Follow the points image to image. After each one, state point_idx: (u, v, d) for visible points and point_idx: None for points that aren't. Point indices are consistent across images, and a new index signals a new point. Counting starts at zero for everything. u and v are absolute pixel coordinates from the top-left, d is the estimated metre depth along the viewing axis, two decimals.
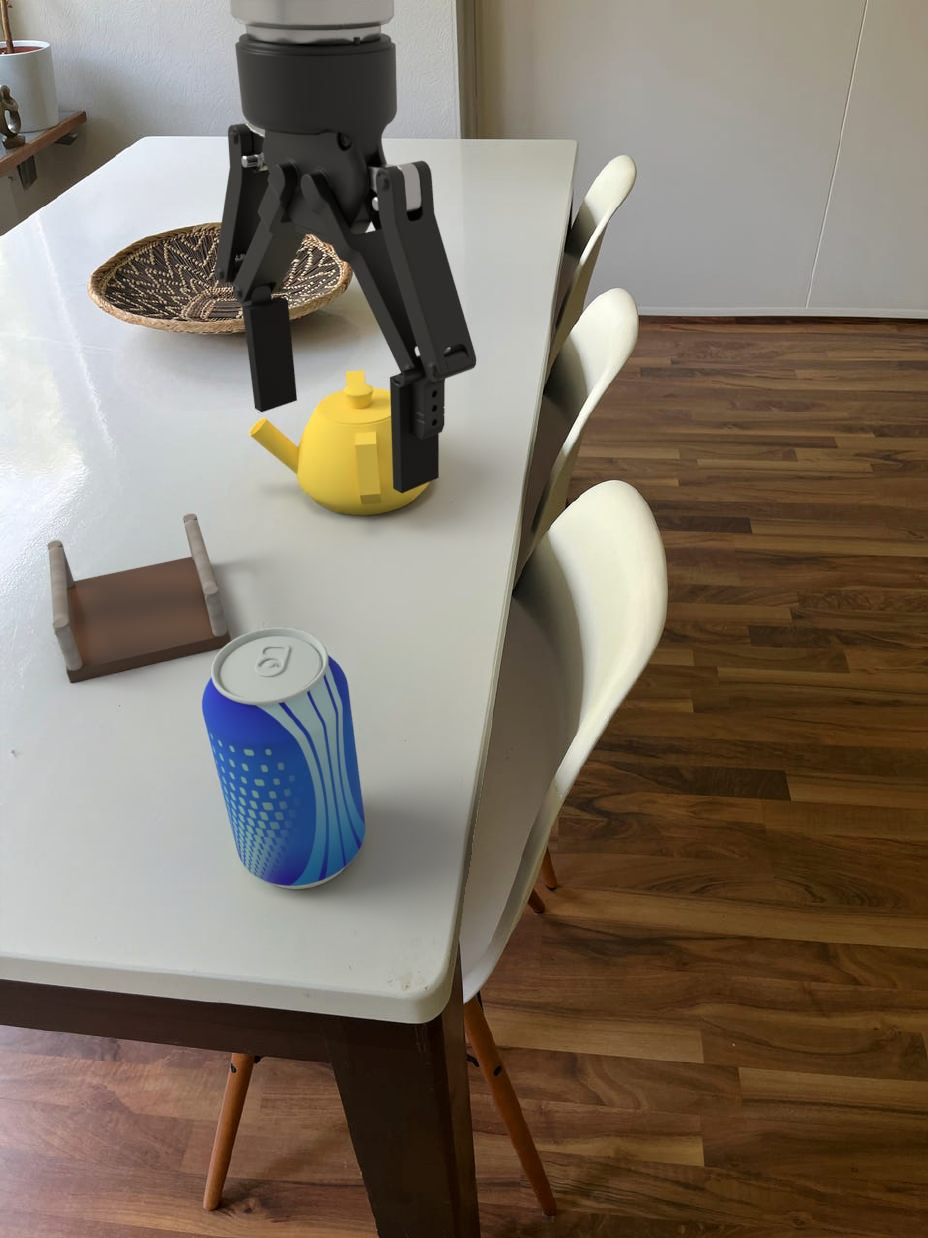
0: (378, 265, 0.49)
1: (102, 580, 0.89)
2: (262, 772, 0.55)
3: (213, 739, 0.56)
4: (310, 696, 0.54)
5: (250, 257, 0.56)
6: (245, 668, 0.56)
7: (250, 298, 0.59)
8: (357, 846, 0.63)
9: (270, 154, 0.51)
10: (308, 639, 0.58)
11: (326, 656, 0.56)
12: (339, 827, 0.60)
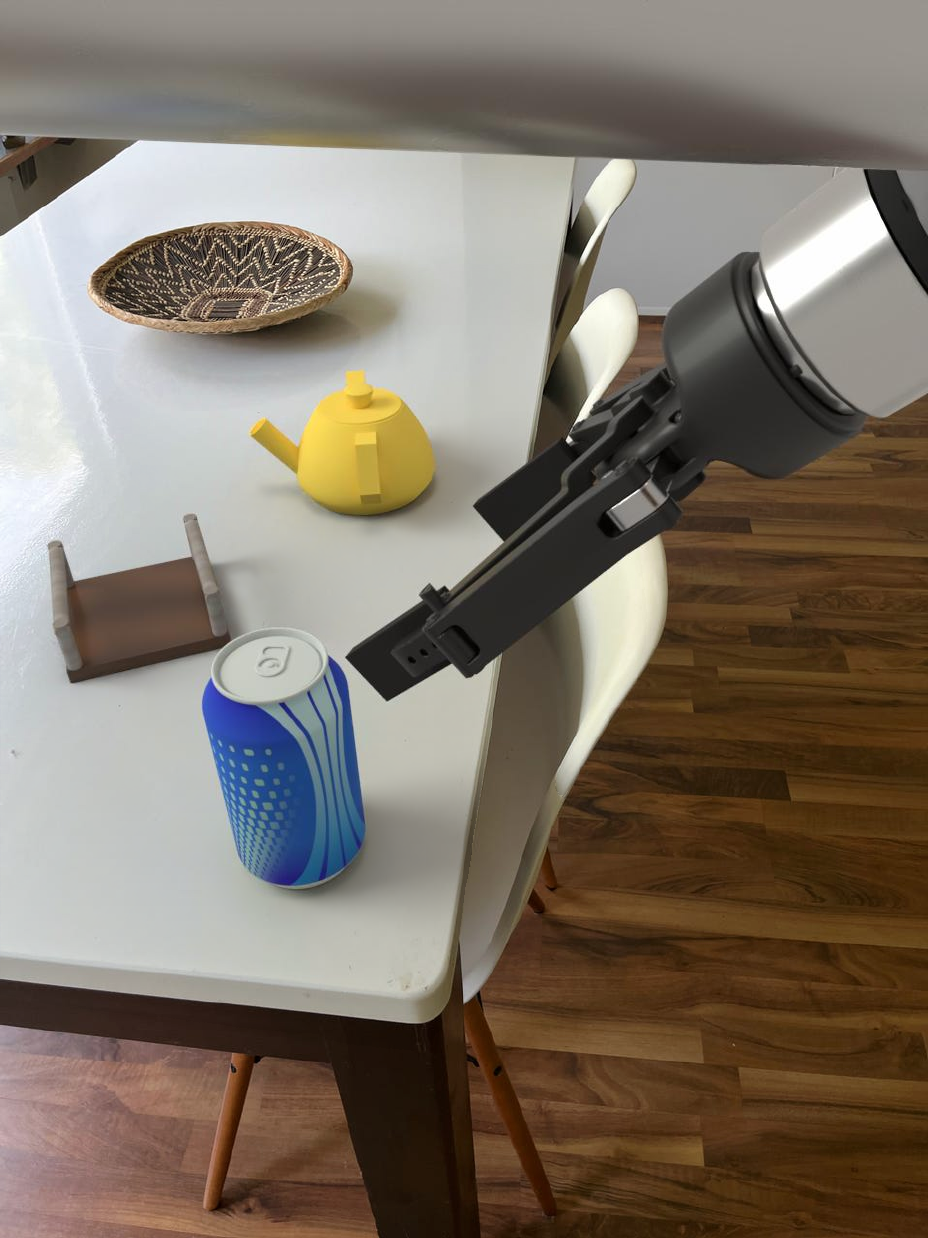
0: None
1: (102, 580, 0.89)
2: (262, 772, 0.55)
3: (213, 739, 0.56)
4: (310, 696, 0.54)
5: (601, 415, 0.46)
6: (245, 668, 0.56)
7: (575, 441, 0.48)
8: (357, 846, 0.63)
9: None
10: (308, 639, 0.58)
11: (326, 656, 0.56)
12: (339, 827, 0.60)
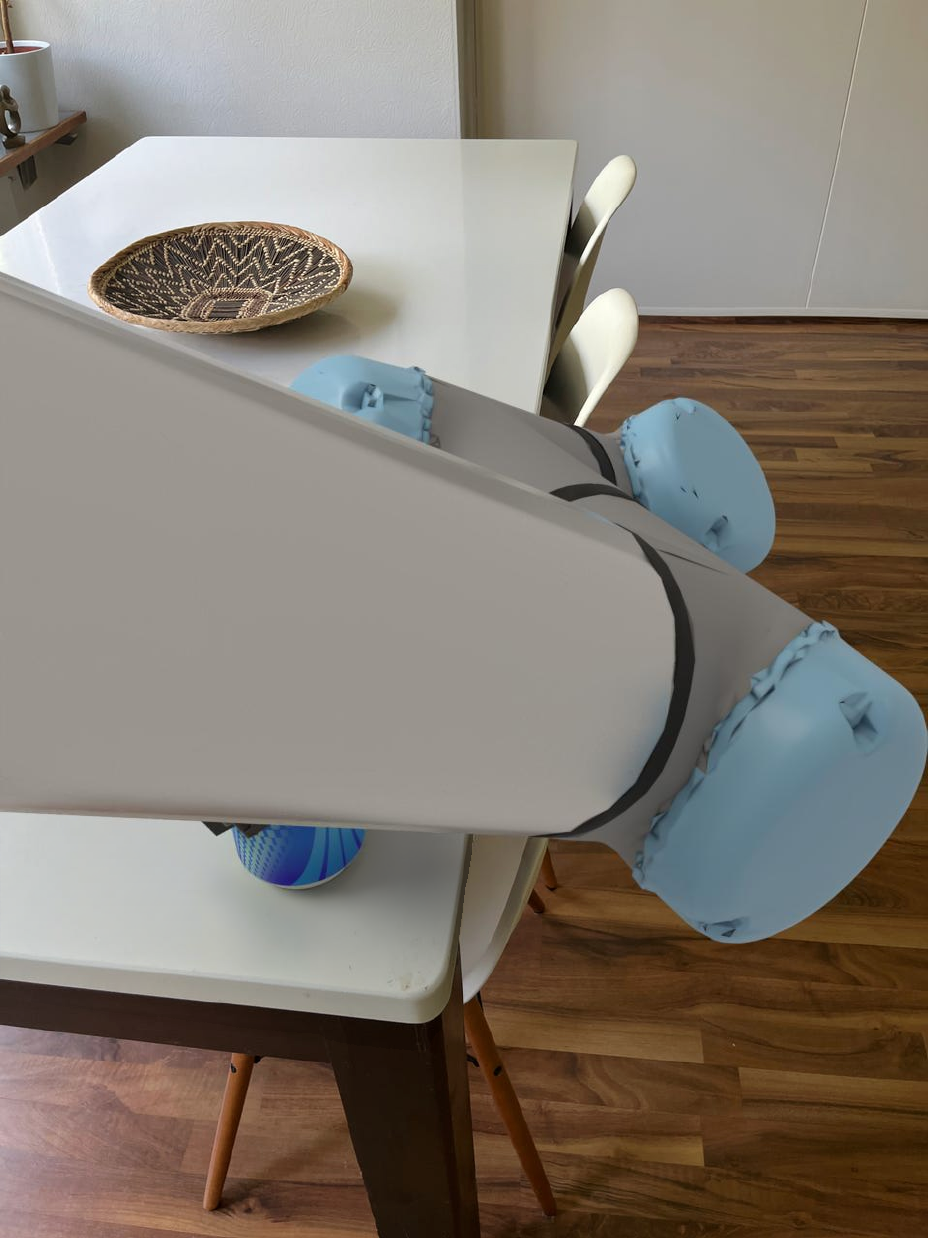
0: None
1: None
2: None
3: None
4: None
5: None
6: None
7: None
8: (357, 846, 0.63)
9: None
10: None
11: None
12: None
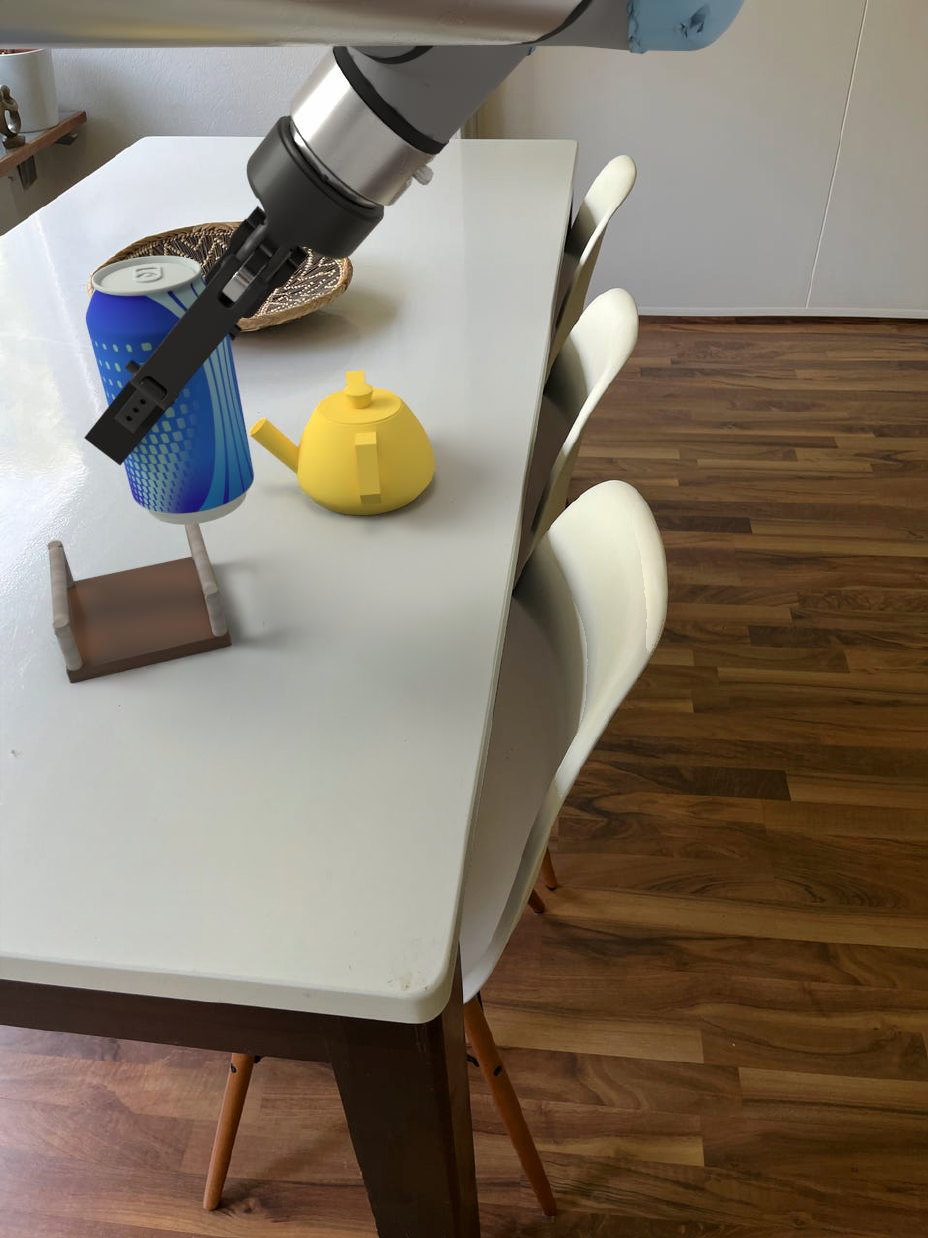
0: None
1: (102, 580, 0.89)
2: None
3: (107, 349, 0.60)
4: (194, 289, 0.60)
5: None
6: (124, 281, 0.60)
7: None
8: (250, 476, 0.69)
9: None
10: (175, 261, 0.63)
11: (198, 263, 0.61)
12: (235, 443, 0.66)
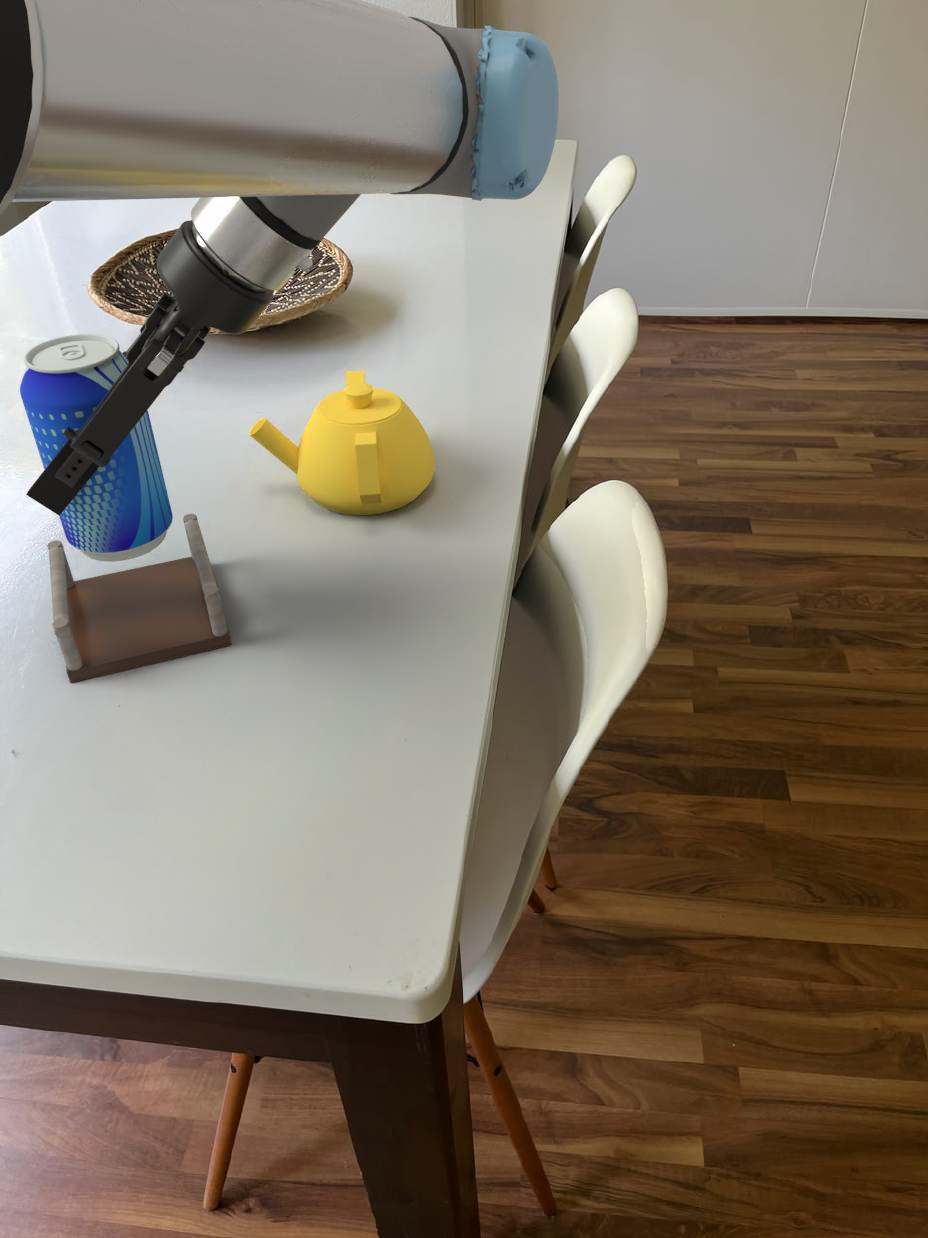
0: None
1: (102, 580, 0.89)
2: None
3: (43, 418, 0.70)
4: (115, 363, 0.71)
5: None
6: (52, 359, 0.71)
7: None
8: (170, 515, 0.80)
9: None
10: (93, 338, 0.74)
11: (114, 340, 0.72)
12: (156, 489, 0.77)
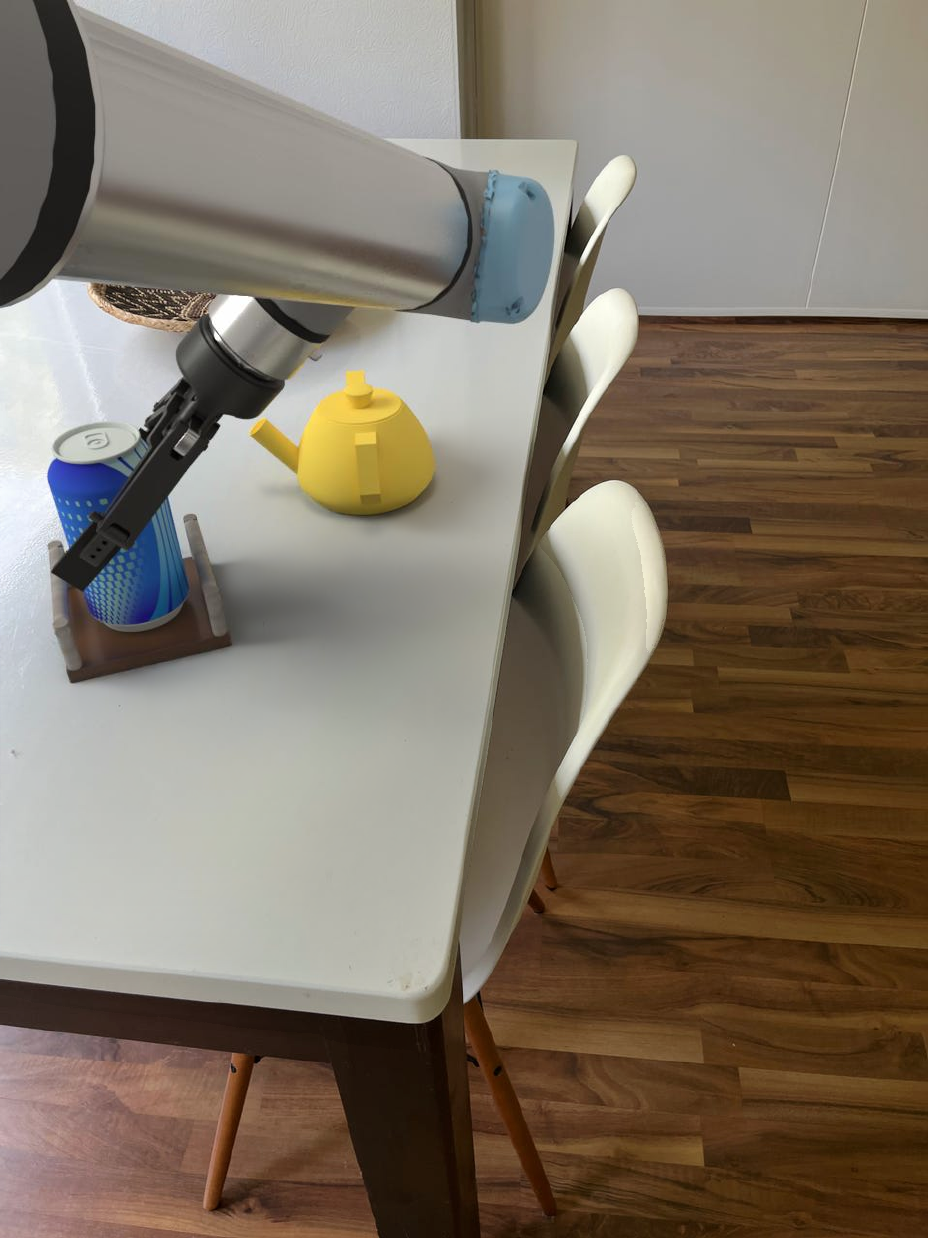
0: None
1: None
2: None
3: (69, 504, 0.74)
4: (137, 451, 0.75)
5: (159, 409, 0.80)
6: (78, 449, 0.75)
7: (148, 428, 0.83)
8: (187, 586, 0.84)
9: None
10: (115, 425, 0.78)
11: (136, 428, 0.77)
12: (174, 564, 0.81)
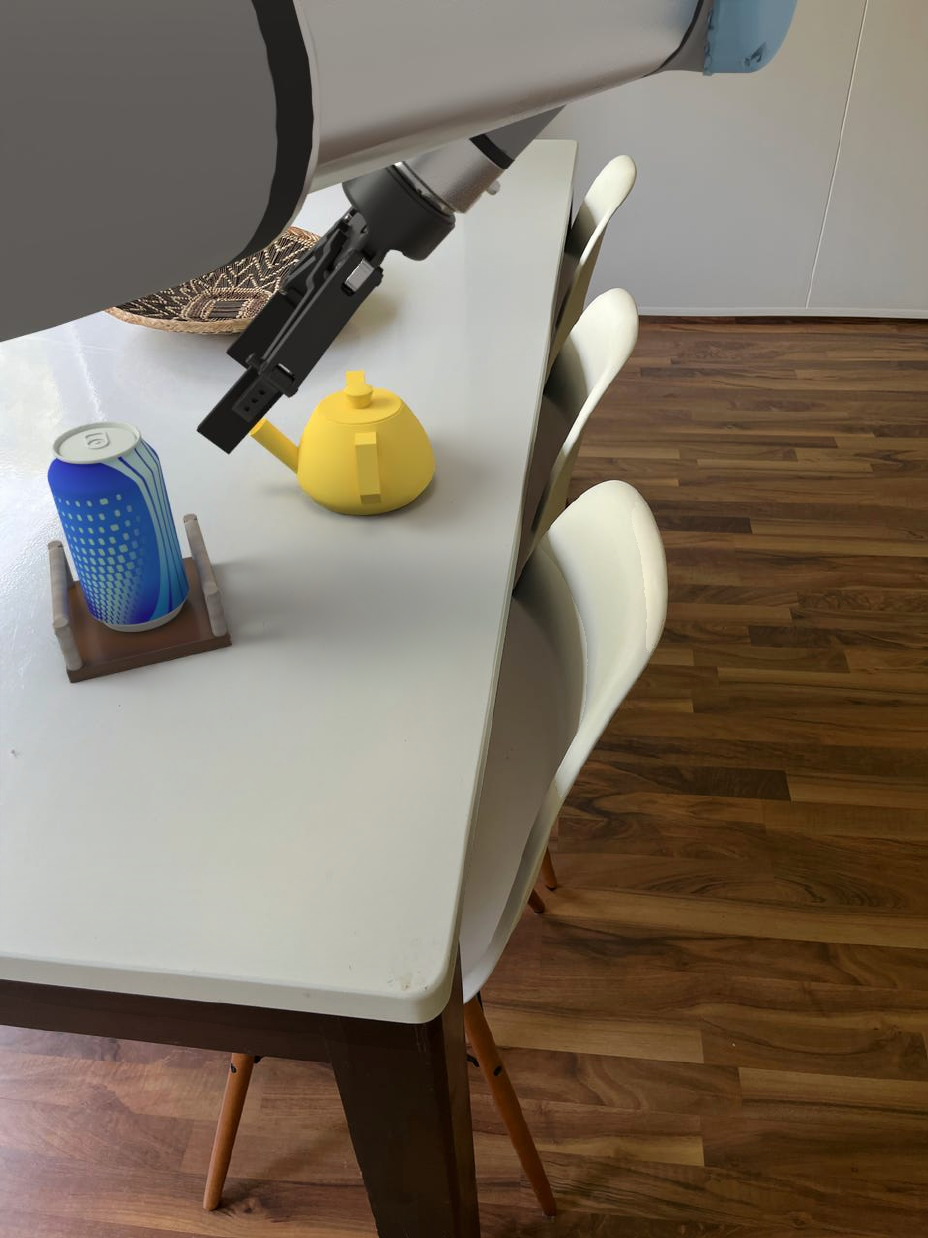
0: None
1: None
2: (116, 516, 0.75)
3: (70, 504, 0.74)
4: (137, 452, 0.75)
5: (302, 266, 0.74)
6: (78, 448, 0.75)
7: (286, 291, 0.76)
8: (187, 586, 0.84)
9: (352, 218, 0.69)
10: (115, 425, 0.78)
11: (136, 428, 0.77)
12: (174, 564, 0.81)
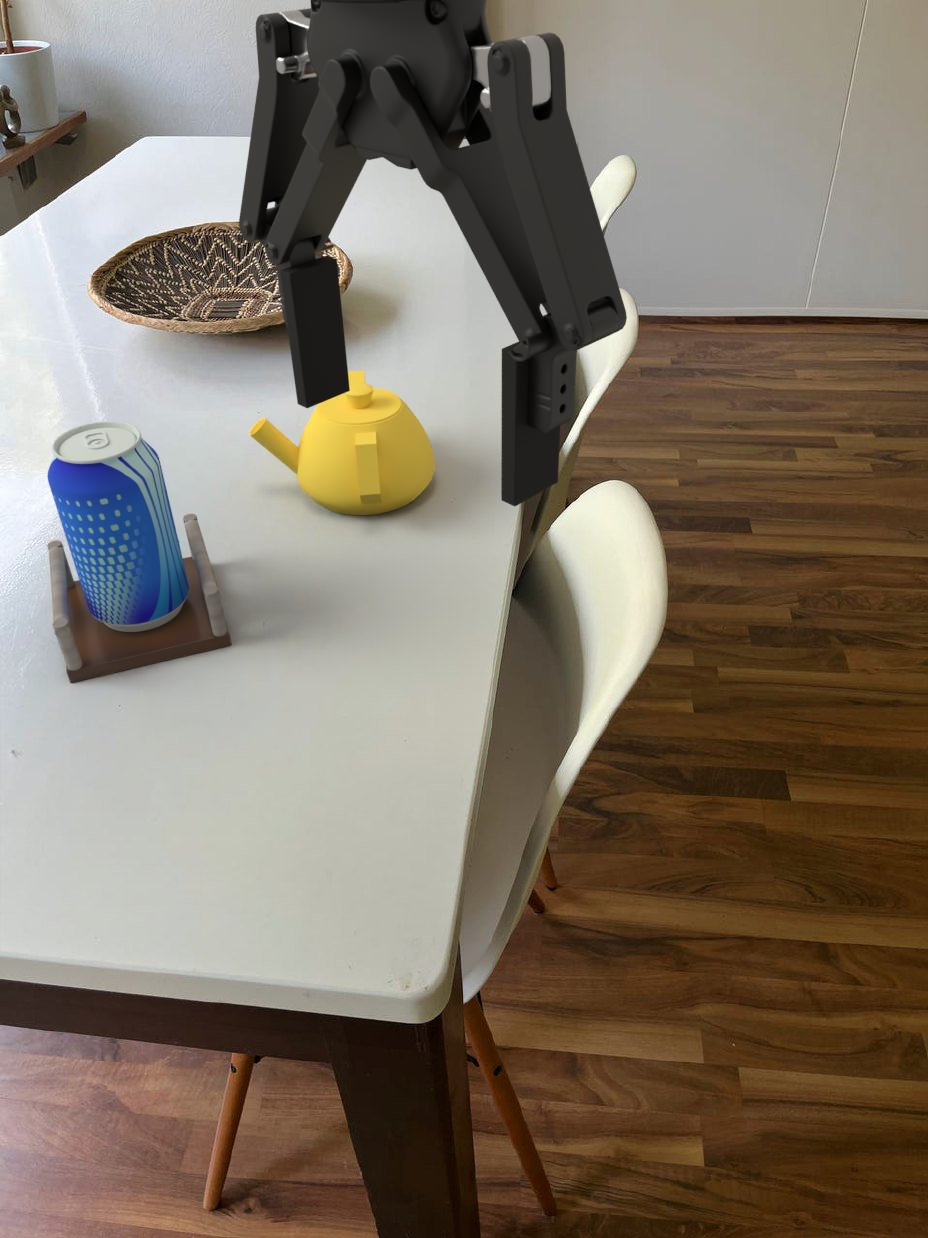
0: (483, 192, 0.35)
1: None
2: (116, 516, 0.75)
3: (70, 504, 0.74)
4: (137, 452, 0.75)
5: (290, 201, 0.42)
6: (78, 448, 0.75)
7: (289, 258, 0.44)
8: (187, 586, 0.84)
9: (319, 49, 0.37)
10: (115, 425, 0.78)
11: (136, 428, 0.77)
12: (175, 564, 0.81)
